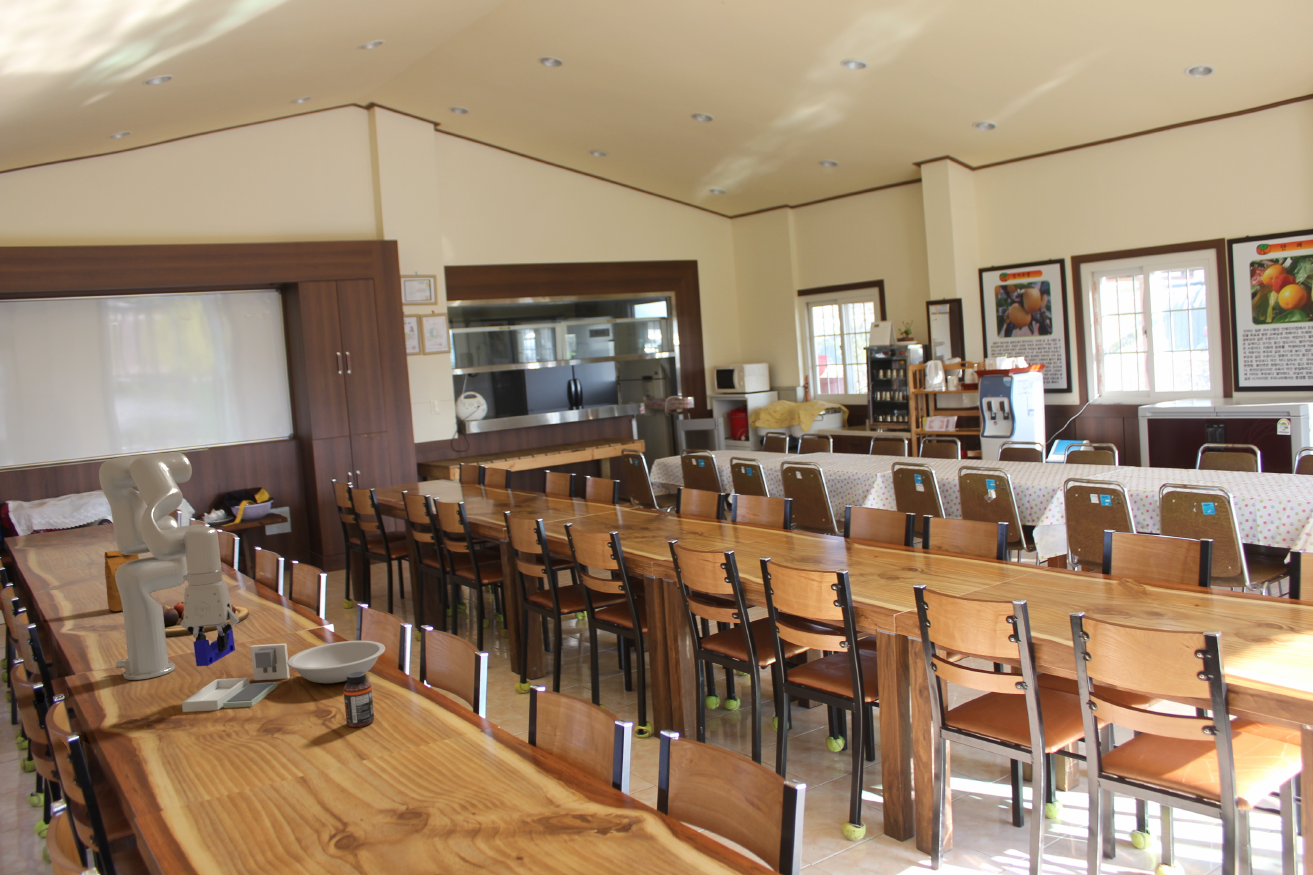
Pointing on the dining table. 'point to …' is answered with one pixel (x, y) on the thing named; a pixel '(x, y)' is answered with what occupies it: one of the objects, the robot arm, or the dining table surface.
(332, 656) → the soup bowl
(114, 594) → the coffee package
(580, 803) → the dining table surface
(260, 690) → the phone
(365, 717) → the supplement bottle
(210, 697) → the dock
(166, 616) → the wooden plate with food
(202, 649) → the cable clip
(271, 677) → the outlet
